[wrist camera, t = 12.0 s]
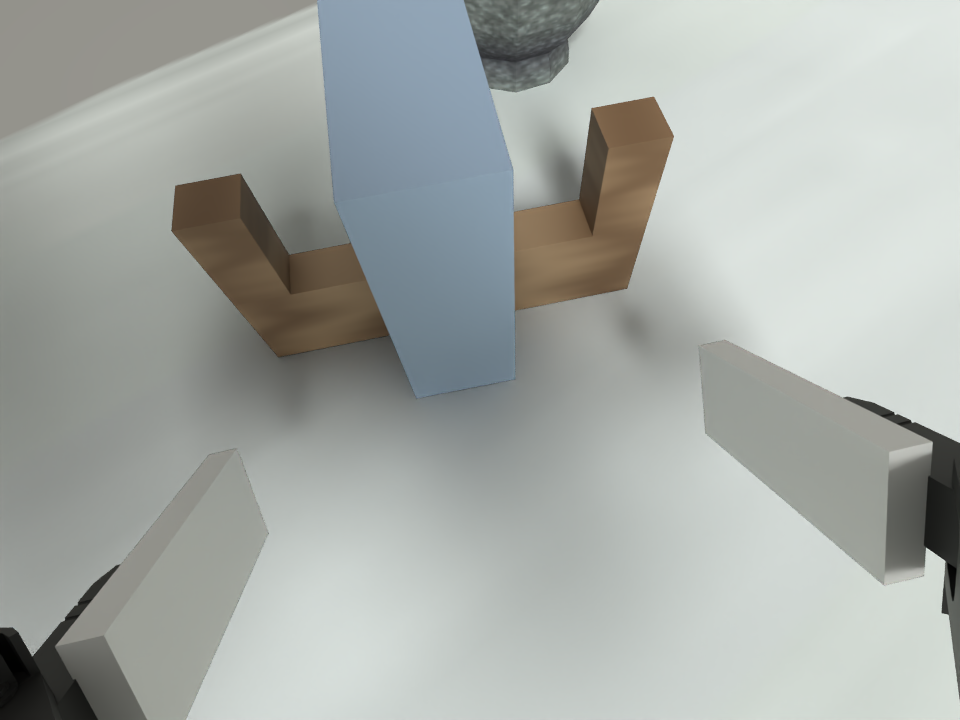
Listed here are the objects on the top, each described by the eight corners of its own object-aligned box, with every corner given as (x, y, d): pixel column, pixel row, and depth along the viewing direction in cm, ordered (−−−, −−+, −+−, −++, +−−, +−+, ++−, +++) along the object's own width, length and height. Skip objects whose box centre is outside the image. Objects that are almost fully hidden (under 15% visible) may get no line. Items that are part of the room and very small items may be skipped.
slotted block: (416, 398, 22) (333, 202, 12) (394, 241, 26) (316, -7, 16) (515, 379, 22) (513, 169, 12) (478, 226, 26) (454, -31, 16)
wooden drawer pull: (278, 357, 23) (171, 230, 16) (277, 321, 24) (175, 185, 17) (627, 288, 24) (673, 136, 16) (614, 255, 24) (654, 96, 17)
